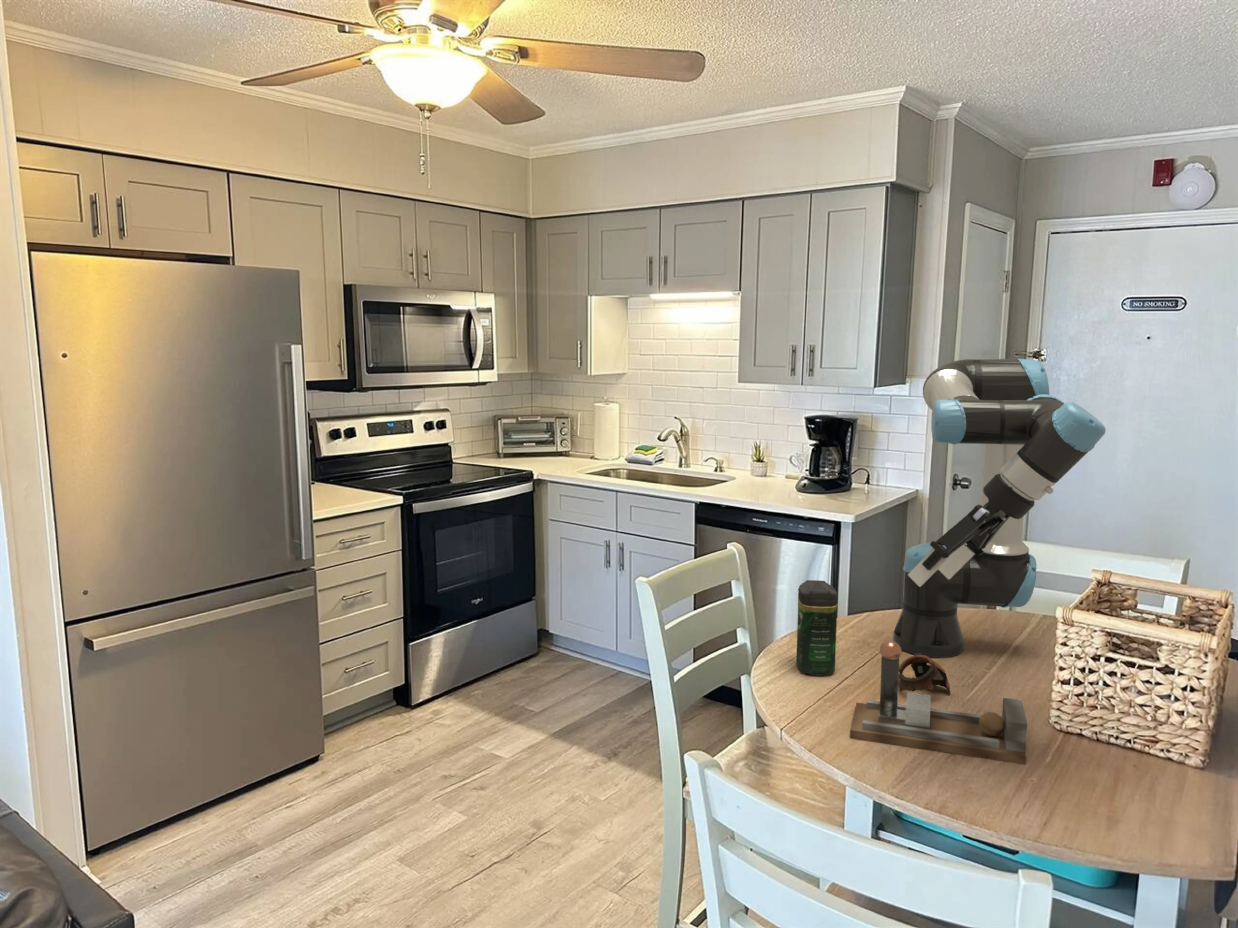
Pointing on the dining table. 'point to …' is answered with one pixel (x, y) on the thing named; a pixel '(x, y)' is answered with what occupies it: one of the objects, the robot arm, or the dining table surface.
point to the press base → (951, 731)
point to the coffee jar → (816, 627)
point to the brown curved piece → (922, 674)
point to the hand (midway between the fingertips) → (929, 577)
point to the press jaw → (915, 703)
